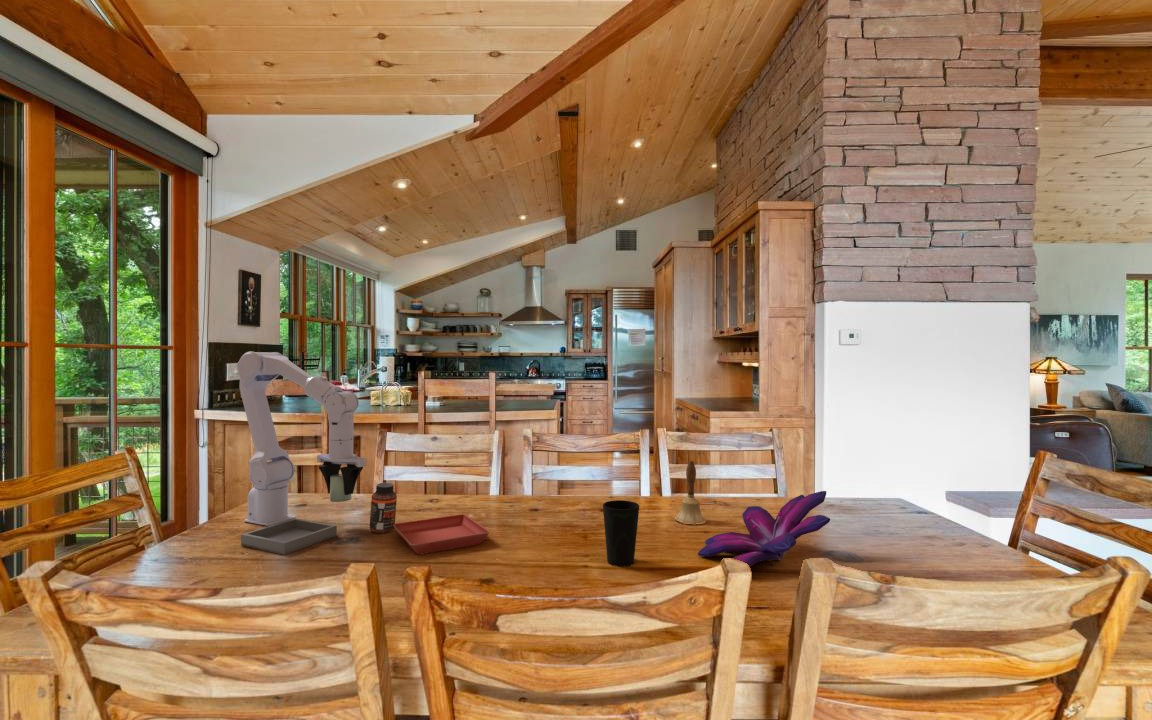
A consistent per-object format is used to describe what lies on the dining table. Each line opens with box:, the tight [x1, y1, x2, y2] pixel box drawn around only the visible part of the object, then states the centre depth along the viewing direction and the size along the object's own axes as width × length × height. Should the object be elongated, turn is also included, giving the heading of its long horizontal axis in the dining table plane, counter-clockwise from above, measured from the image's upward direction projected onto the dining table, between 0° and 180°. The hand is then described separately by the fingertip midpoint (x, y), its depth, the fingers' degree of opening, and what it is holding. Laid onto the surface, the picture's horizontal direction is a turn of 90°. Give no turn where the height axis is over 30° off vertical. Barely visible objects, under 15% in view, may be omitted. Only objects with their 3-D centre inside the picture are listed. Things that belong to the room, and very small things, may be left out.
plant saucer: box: [393, 513, 490, 555], centre depth 128 cm, size 18×18×3 cm
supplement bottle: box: [369, 482, 398, 534], centre depth 135 cm, size 6×6×11 cm
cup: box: [602, 499, 640, 568], centre depth 115 cm, size 8×8×12 cm
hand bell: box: [674, 460, 707, 524], centre depth 145 cm, size 8×8×16 cm
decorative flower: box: [696, 490, 831, 568], centre depth 117 cm, size 31×31×10 cm
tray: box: [240, 517, 338, 556], centre depth 127 cm, size 14×14×2 cm
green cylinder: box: [329, 473, 352, 503], centre depth 138 cm, size 5×5×6 cm
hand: (340, 493), depth 138 cm, fingers closed on green cylinder, 5 cm apart
